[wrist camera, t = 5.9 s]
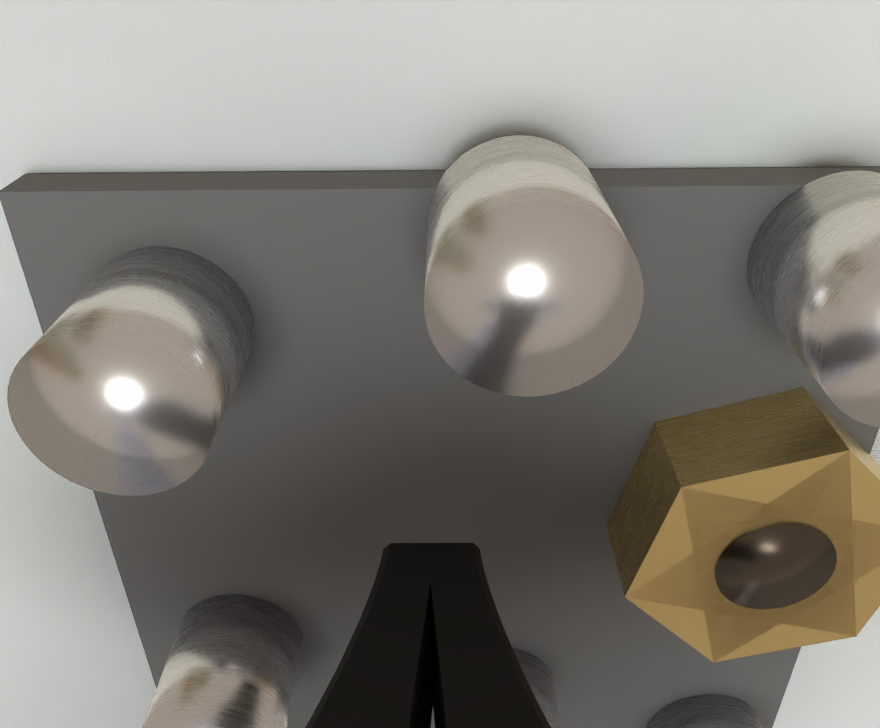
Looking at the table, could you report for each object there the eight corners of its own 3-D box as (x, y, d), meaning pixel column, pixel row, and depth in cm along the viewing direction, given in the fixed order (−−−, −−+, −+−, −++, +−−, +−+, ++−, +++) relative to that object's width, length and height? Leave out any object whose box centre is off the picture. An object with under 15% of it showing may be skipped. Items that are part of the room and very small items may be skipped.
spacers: (733, 798, 18) (772, 921, 16) (225, 799, 18) (196, 920, 16) (961, 131, 10) (1105, 195, 8) (41, 138, 10) (-68, 204, 8)
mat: (732, 772, 19) (744, 805, 18) (203, 773, 19) (194, 806, 18) (933, 166, 11) (965, 184, 10) (25, 173, 11) (-2, 192, 10)
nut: (881, 550, 14) (932, 624, 12) (625, 601, 14) (645, 677, 13) (880, 368, 12) (940, 432, 10) (583, 438, 12) (601, 506, 11)
